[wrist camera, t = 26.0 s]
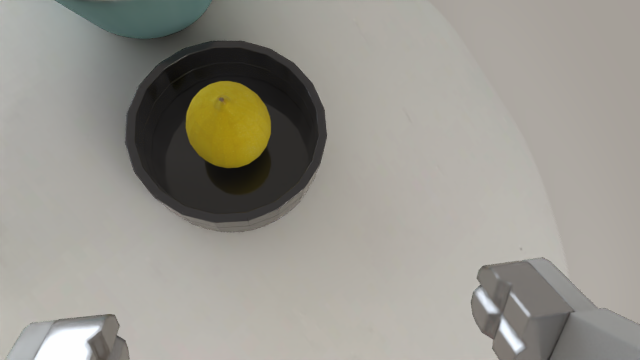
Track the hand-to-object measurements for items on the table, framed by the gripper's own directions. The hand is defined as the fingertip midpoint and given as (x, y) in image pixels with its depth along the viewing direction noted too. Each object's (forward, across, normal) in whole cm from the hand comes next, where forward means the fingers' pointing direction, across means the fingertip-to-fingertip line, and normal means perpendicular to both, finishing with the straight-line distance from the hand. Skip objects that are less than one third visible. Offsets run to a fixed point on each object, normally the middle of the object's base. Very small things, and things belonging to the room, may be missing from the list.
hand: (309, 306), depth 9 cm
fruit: (+22, +3, +6) cm, 23 cm away
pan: (+22, +3, +6) cm, 23 cm away
